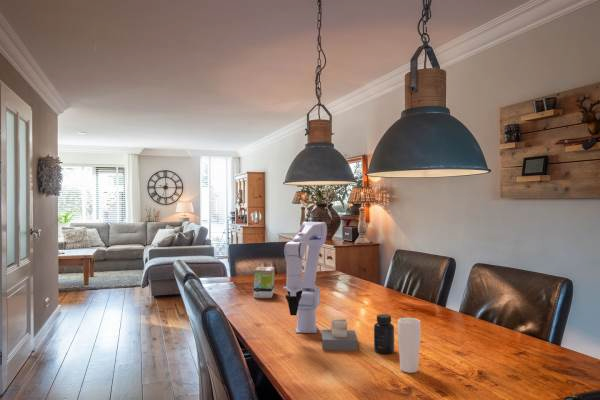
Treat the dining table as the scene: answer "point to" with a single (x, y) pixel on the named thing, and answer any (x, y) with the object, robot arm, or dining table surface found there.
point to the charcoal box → (339, 341)
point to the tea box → (264, 282)
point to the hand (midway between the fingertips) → (294, 312)
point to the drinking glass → (409, 343)
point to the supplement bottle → (384, 335)
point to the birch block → (339, 327)
